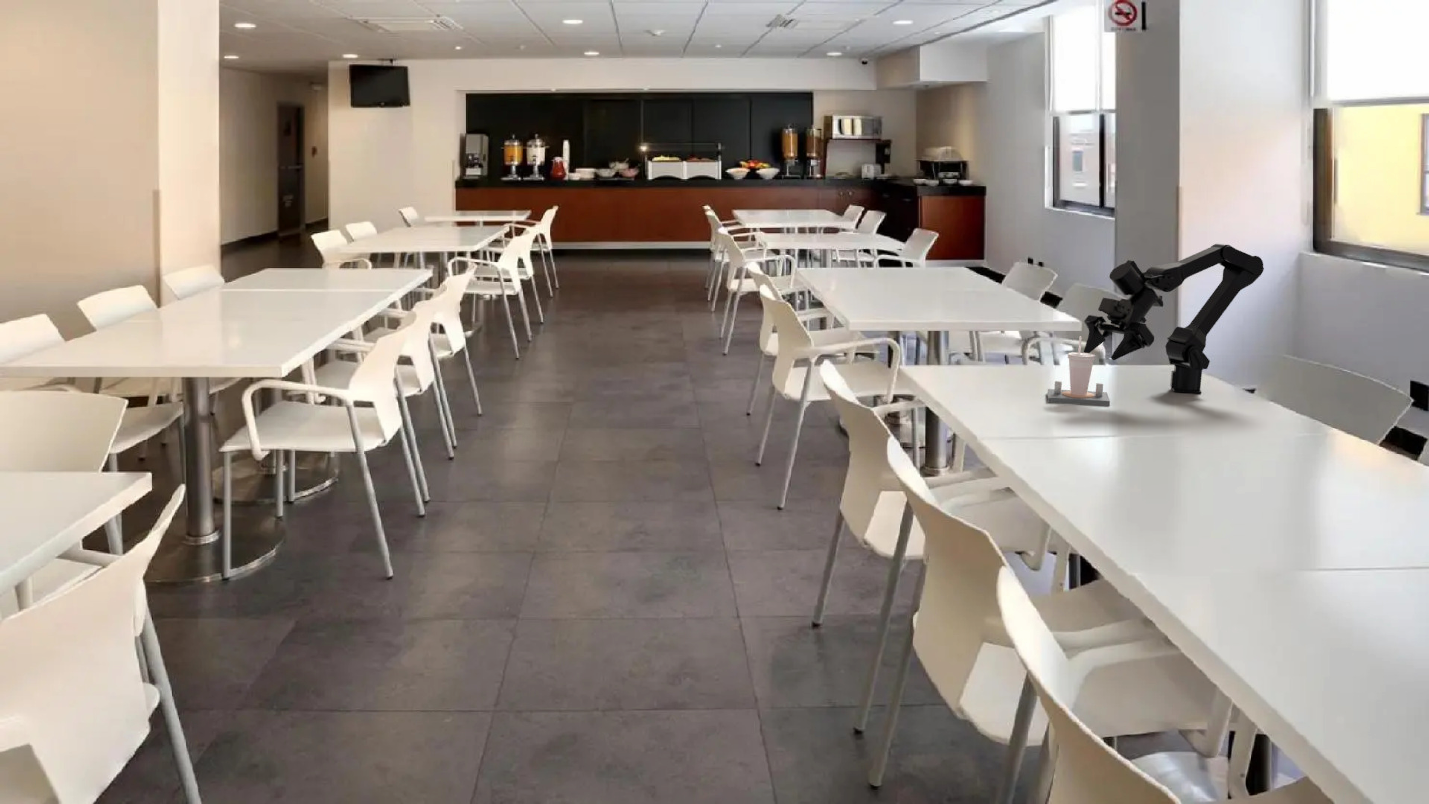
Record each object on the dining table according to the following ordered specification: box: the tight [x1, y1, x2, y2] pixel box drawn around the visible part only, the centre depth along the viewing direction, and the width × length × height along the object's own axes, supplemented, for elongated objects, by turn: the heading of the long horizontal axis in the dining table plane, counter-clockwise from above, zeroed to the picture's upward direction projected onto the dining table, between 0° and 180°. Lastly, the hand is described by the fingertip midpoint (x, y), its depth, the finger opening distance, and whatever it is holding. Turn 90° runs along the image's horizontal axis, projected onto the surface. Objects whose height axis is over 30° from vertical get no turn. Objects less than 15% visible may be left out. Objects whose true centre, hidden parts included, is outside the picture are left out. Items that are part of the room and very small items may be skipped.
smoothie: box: [1067, 335, 1096, 395], centre depth 293 cm, size 6×6×14 cm
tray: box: [1046, 380, 1111, 407], centre depth 294 cm, size 14×11×4 cm
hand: (1098, 356), depth 295 cm, fingers open, 9 cm apart
